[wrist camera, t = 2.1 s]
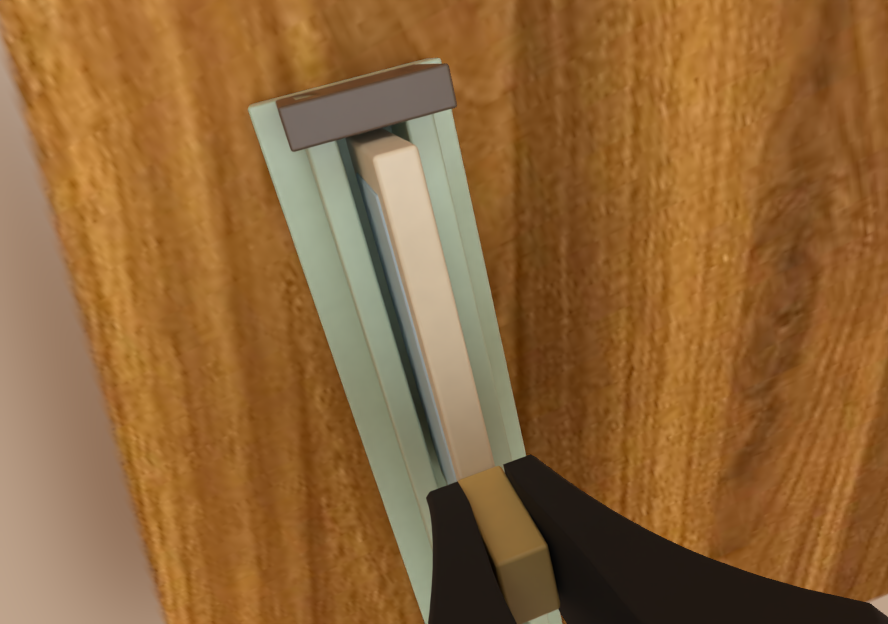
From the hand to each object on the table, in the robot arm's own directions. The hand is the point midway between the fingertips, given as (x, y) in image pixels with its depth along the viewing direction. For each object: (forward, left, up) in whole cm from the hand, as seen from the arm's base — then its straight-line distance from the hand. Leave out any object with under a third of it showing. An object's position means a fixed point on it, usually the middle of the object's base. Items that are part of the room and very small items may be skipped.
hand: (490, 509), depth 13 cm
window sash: (+3, 0, -4) cm, 5 cm away
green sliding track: (-2, 0, -6) cm, 6 cm away
